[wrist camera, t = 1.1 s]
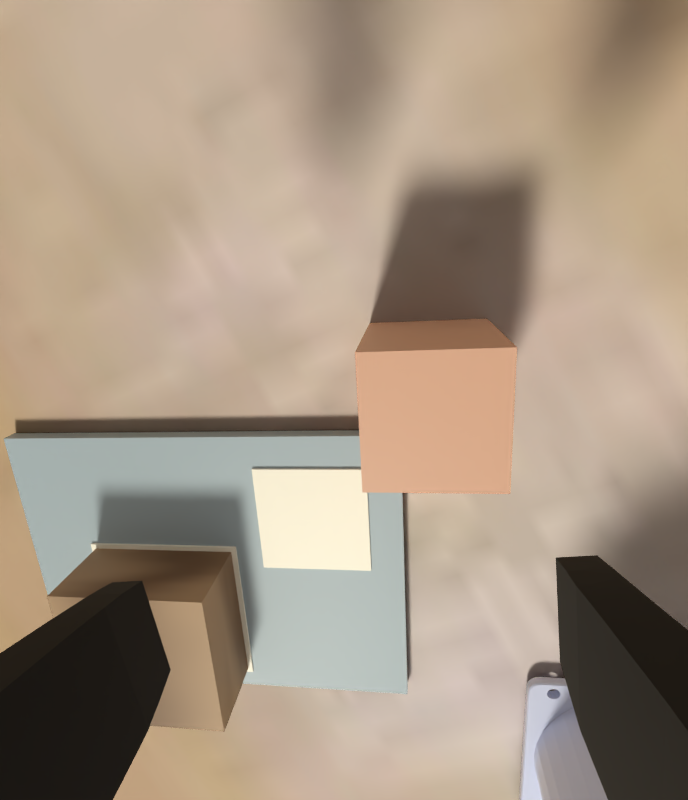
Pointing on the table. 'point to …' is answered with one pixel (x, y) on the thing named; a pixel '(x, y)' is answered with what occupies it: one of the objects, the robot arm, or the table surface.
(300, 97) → the table surface
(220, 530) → the board
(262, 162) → the table surface
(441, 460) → the terracotta block
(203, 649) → the walnut block
